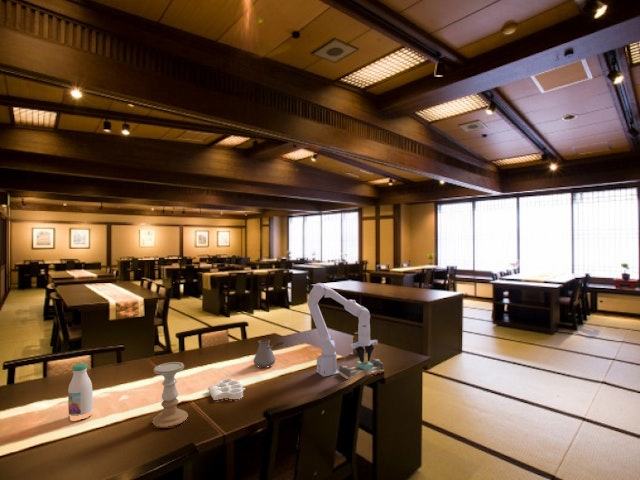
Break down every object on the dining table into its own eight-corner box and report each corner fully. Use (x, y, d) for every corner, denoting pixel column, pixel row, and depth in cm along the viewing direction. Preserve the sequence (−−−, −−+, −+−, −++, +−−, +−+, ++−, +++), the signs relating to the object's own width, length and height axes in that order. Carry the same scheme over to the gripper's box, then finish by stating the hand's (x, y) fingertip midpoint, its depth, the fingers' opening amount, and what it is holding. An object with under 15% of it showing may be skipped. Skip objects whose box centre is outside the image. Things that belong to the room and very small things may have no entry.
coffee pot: (249, 366, 190) (248, 337, 190) (265, 360, 199) (265, 333, 199) (276, 375, 176) (276, 344, 176) (293, 368, 185) (292, 339, 185)
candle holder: (146, 421, 134) (145, 367, 134) (179, 409, 143) (178, 358, 143) (159, 433, 126) (158, 375, 125) (193, 420, 134) (192, 366, 134)
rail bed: (347, 380, 169) (347, 370, 168) (338, 374, 177) (337, 364, 176) (385, 372, 178) (384, 362, 178) (374, 366, 186) (374, 357, 186)
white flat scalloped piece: (205, 390, 162) (237, 383, 169) (216, 406, 146) (250, 397, 154) (205, 383, 162) (237, 376, 169) (215, 398, 146) (250, 389, 154)
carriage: (364, 370, 174) (364, 356, 174) (356, 365, 180) (356, 352, 180) (373, 368, 176) (373, 354, 176) (365, 363, 182) (364, 350, 182)
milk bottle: (88, 410, 144) (87, 360, 144) (96, 416, 139) (94, 364, 139) (65, 418, 138) (64, 365, 138) (72, 424, 133) (71, 370, 133)
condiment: (358, 351, 212) (358, 330, 212) (369, 354, 206) (368, 333, 205) (349, 353, 207) (349, 332, 207) (360, 357, 201) (359, 335, 201)
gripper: (356, 337, 171) (356, 366, 171) (381, 333, 178) (381, 360, 178) (348, 334, 178) (348, 361, 178) (372, 330, 184) (373, 356, 184)
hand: (364, 361), depth 178 cm, fingers closed on carriage, 3 cm apart
